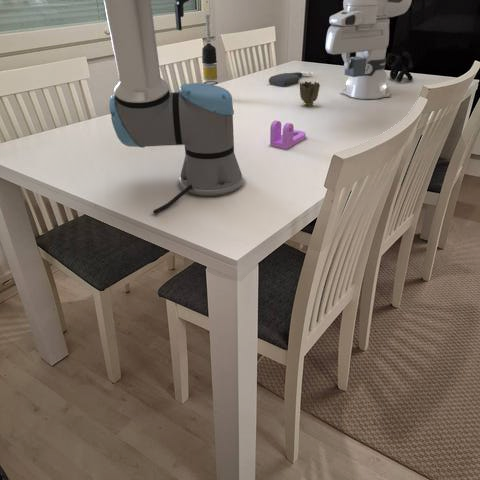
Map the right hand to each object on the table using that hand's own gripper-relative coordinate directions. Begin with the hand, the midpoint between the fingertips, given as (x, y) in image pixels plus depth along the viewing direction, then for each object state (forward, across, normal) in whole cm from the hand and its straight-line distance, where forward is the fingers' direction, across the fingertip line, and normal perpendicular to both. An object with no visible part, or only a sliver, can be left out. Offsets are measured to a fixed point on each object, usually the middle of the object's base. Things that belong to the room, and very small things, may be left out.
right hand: (355, 67), depth 134 cm
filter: (+18, +26, -56) cm, 65 cm away
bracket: (+19, +23, +2) cm, 30 cm away
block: (+2, 0, 0) cm, 2 cm away
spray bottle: (+18, -18, -69) cm, 73 cm away
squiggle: (+18, -61, -46) cm, 79 cm away
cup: (+19, -3, -29) cm, 35 cm away
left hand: (-11, +54, -22) cm, 59 cm away
